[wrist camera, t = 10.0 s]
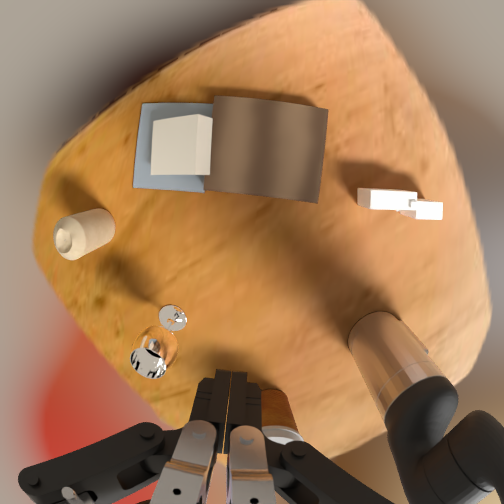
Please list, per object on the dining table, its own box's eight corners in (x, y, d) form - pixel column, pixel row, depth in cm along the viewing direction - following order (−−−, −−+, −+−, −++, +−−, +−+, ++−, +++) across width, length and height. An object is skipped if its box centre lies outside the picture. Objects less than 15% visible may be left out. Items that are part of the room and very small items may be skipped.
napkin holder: (333, 202, 38) (346, 207, 32) (379, 141, 36) (397, 137, 30) (402, 264, 40) (420, 277, 35) (442, 208, 38) (463, 213, 32)
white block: (212, 118, 32) (198, 113, 29) (209, 175, 34) (194, 174, 31) (168, 123, 35) (153, 120, 32) (166, 174, 36) (150, 174, 34)
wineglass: (149, 305, 42) (117, 347, 30) (182, 297, 41) (158, 339, 30) (163, 337, 43) (138, 384, 31) (196, 330, 43) (178, 379, 31)
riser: (323, 114, 34) (328, 109, 32) (312, 201, 37) (317, 203, 35) (217, 101, 34) (214, 95, 31) (207, 189, 37) (203, 190, 34)
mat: (214, 104, 34) (214, 103, 34) (204, 192, 37) (204, 192, 37) (143, 104, 34) (142, 103, 34) (134, 187, 37) (132, 187, 37)
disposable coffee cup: (241, 416, 47) (238, 466, 36) (245, 380, 45) (242, 433, 33) (292, 418, 47) (298, 467, 36) (301, 382, 45) (311, 434, 33)
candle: (85, 207, 38) (45, 218, 28) (115, 208, 38) (78, 219, 28) (86, 243, 39) (48, 261, 30) (116, 245, 39) (81, 265, 30)
